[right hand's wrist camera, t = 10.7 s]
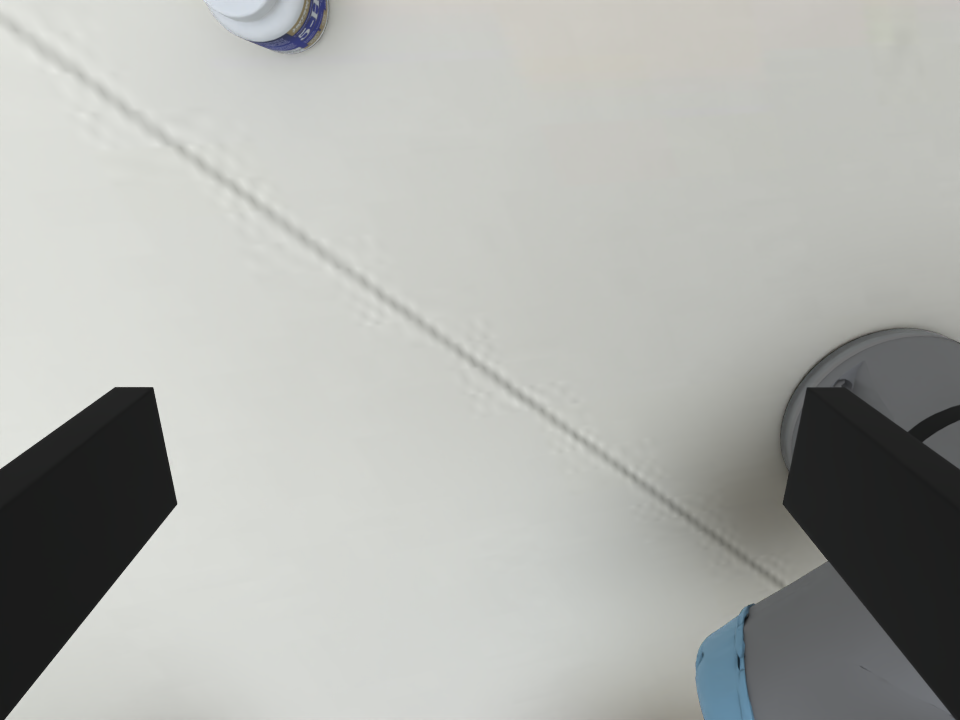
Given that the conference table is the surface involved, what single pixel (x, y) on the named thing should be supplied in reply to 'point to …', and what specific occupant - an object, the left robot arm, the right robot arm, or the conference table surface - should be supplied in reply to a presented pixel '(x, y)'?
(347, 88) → the conference table surface
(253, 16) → the pill bottle
